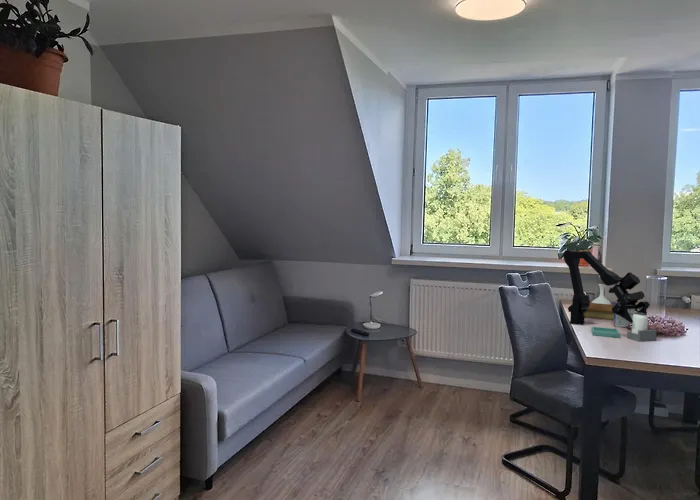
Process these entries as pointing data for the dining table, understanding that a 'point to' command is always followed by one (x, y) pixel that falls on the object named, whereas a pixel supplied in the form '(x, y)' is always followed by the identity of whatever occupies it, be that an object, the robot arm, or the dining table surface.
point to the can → (639, 322)
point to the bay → (643, 335)
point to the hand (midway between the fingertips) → (639, 322)
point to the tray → (605, 332)
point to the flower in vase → (602, 294)
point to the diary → (599, 311)
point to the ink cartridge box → (622, 319)
